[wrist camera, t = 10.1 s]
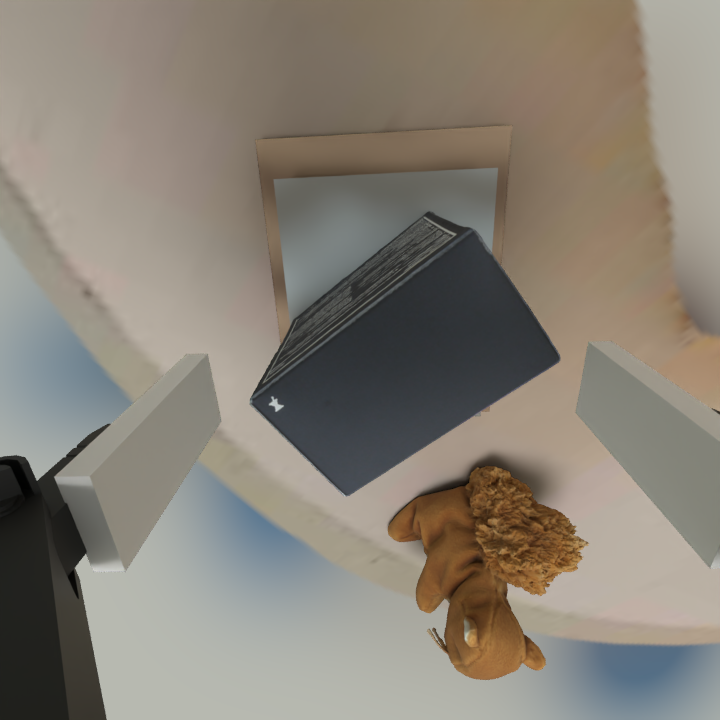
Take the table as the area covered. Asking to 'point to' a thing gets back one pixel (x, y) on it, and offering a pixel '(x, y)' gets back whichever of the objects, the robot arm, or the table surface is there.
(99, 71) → the table surface
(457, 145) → the building base
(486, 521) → the stuffed squirrel
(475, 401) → the small box
